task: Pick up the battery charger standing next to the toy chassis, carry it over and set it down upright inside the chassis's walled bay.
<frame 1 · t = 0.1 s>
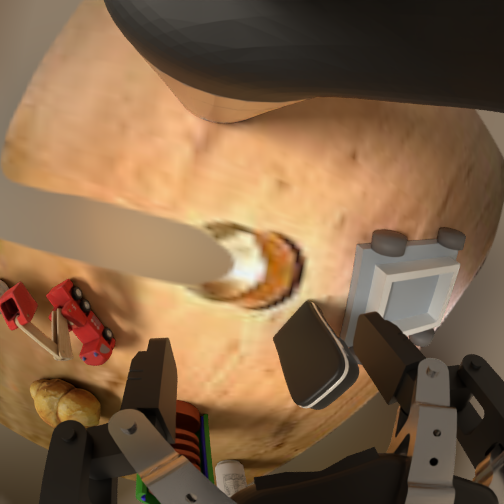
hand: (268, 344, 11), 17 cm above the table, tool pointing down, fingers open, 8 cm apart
chassis: (401, 289, 34), on the table
light bulb: (4, 288, 25), on the table
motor: (175, 414, 38), on the table
energy drink can: (228, 463, 48), on the table
toy fire truck: (78, 301, 28), on the table
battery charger: (299, 323, 34), on the table
bread roll: (68, 390, 34), on the table
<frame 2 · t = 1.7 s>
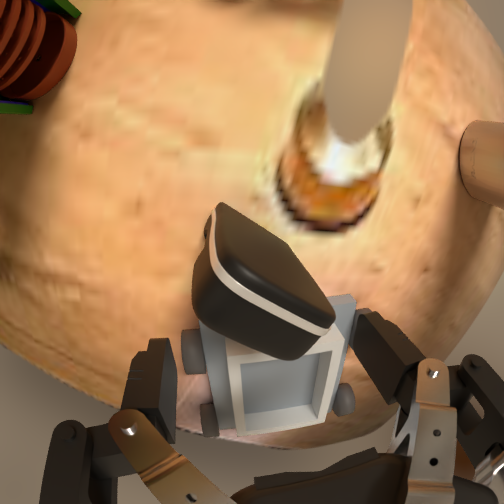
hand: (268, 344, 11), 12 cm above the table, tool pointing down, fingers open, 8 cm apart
chassis: (276, 369, 28), on the table
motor: (36, 59, 14), on the table
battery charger: (241, 240, 23), on the table
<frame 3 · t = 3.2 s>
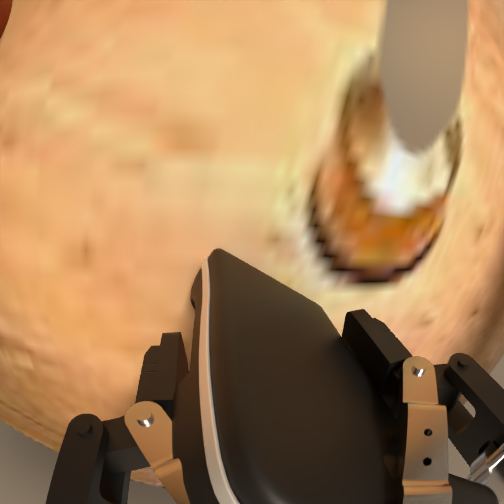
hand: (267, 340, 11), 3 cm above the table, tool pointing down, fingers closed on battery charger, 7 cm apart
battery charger: (250, 303, 14), on the table, touching gripper
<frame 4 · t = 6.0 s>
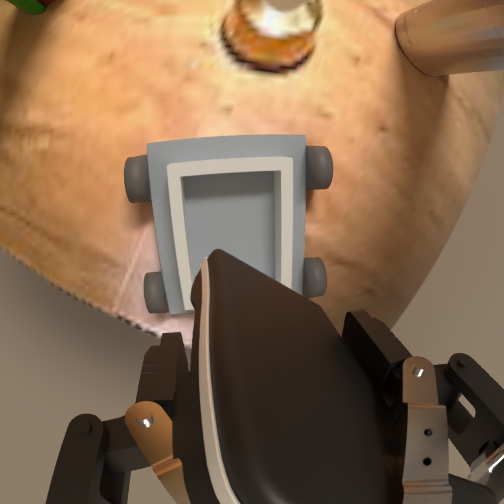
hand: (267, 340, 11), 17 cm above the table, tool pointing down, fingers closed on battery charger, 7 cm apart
chassis: (230, 225, 27), on the table
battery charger: (250, 303, 14), point 14 cm above the table, touching gripper
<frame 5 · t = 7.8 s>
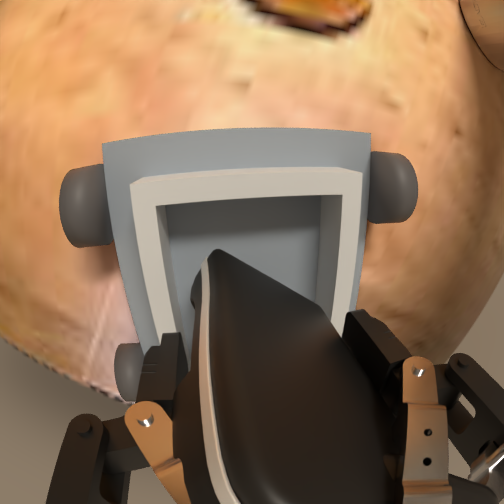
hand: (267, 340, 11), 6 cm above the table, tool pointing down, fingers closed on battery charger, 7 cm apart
chassis: (245, 275, 17), on the table
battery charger: (250, 303, 14), point 3 cm above the table, touching gripper
when the fingers open (6 cm above the table, at t = 8.6 s): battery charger drops 2 cm, resting on chassis.
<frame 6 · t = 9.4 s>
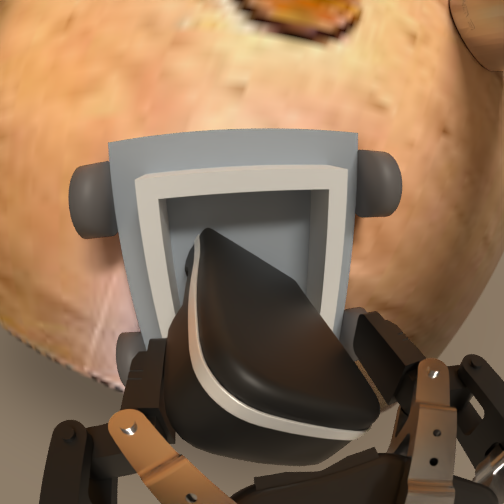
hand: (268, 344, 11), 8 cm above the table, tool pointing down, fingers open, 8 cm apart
chassis: (240, 267, 18), on the table
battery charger: (235, 277, 17), point 1 cm above the table, touching chassis, gripper
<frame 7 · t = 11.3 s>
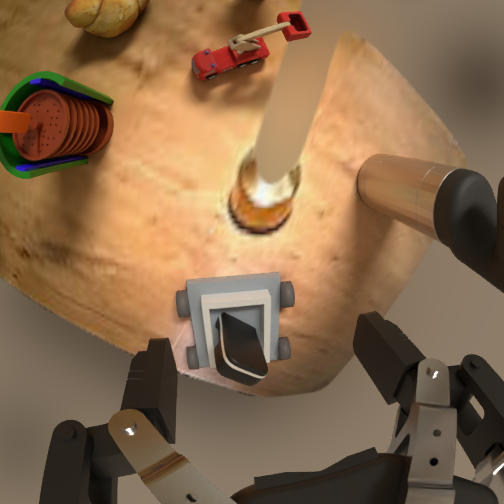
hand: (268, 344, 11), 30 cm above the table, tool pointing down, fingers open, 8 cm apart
chassis: (235, 321, 46), on the table
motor: (86, 127, 32), on the table
toy fire truck: (240, 57, 32), on the table
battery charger: (233, 326, 45), point 1 cm above the table, touching chassis
bread roll: (123, 8, 25), on the table
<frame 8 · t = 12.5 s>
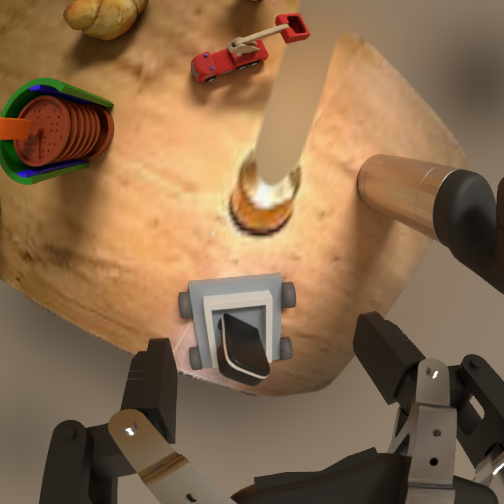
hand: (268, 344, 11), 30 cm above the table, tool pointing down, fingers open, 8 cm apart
chassis: (237, 322, 47), on the table
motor: (86, 131, 32), on the table
toy fire truck: (240, 59, 32), on the table
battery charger: (235, 327, 45), point 1 cm above the table, touching chassis
bread roll: (122, 10, 26), on the table
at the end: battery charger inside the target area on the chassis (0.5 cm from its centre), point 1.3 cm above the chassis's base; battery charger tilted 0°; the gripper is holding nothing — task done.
